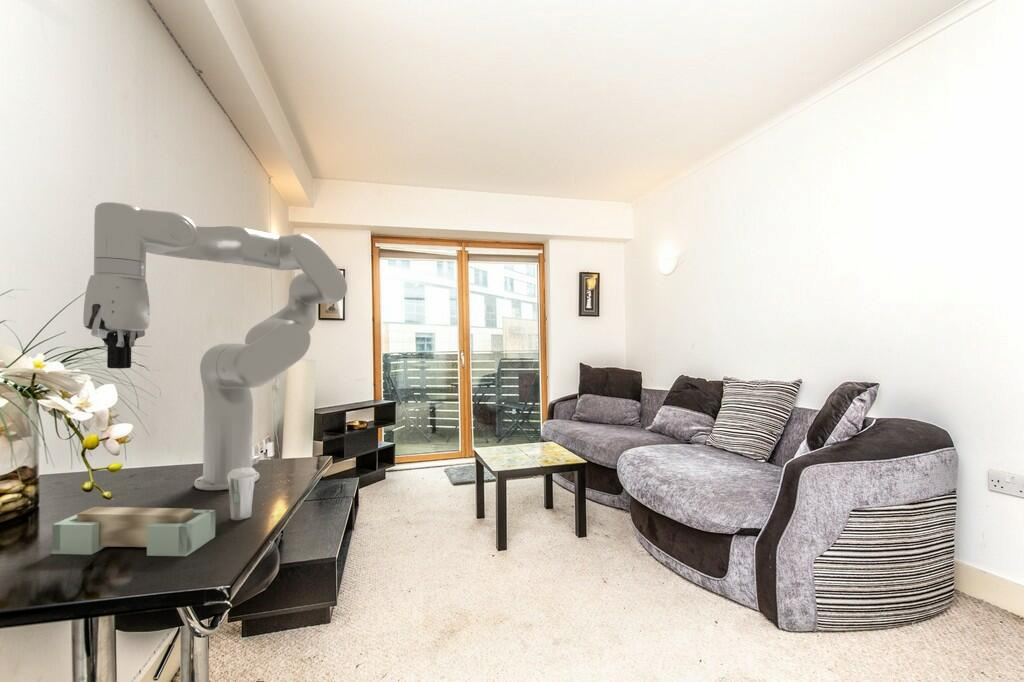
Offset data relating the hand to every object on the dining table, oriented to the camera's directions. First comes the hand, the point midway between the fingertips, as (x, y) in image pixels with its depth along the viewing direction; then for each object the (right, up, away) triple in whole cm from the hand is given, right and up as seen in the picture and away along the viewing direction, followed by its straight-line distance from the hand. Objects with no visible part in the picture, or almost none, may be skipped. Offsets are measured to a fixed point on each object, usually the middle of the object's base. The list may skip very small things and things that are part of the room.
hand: (119, 367), depth 88 cm
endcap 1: (+7, -27, -14) cm, 31 cm away
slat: (+14, -27, -14) cm, 34 cm away
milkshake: (+24, -28, -1) cm, 37 cm away
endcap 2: (+22, -28, -14) cm, 38 cm away
